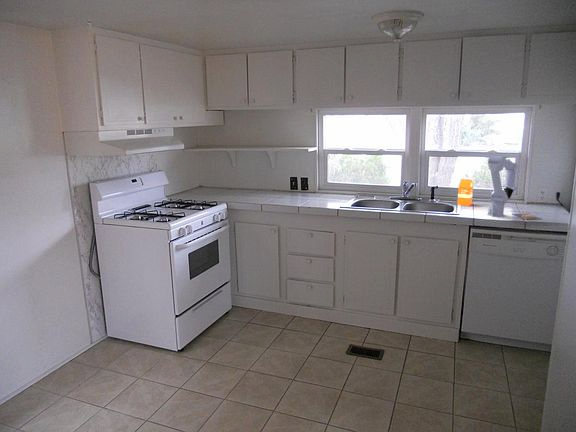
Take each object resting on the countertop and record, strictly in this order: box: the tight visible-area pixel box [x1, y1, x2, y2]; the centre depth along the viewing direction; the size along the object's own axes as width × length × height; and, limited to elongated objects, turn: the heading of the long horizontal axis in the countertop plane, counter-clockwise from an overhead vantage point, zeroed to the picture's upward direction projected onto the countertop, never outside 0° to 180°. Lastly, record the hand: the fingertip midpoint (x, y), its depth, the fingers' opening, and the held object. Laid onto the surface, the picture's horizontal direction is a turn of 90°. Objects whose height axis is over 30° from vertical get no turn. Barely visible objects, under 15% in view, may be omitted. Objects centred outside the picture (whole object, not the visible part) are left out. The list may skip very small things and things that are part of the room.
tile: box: [520, 213, 536, 220], centre depth 297 cm, size 6×2×6 cm
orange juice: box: [457, 178, 474, 207], centre depth 345 cm, size 8×9×20 cm
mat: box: [511, 213, 542, 221], centre depth 302 cm, size 12×17×1 cm
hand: (508, 198), depth 315 cm, fingers closed
